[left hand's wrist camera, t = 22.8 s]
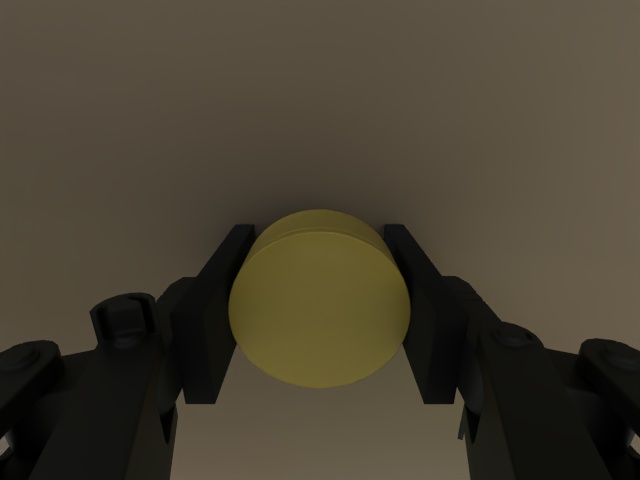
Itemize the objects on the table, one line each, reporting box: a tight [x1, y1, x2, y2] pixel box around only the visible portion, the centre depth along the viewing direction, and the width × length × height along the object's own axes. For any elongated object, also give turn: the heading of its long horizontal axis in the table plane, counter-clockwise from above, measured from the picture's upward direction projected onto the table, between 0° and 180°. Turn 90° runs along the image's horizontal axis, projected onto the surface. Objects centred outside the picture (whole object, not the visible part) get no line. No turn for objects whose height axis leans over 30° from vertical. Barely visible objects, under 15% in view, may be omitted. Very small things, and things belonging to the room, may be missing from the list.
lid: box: [228, 209, 411, 388], centre depth 11 cm, size 5×5×2 cm
